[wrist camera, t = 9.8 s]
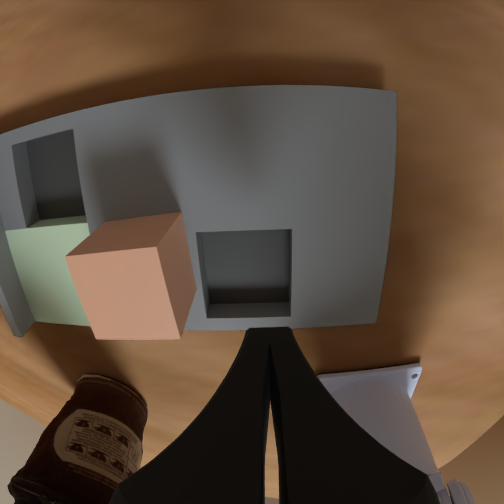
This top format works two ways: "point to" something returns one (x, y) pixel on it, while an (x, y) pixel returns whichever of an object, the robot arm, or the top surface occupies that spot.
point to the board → (211, 200)
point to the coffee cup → (85, 447)
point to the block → (135, 278)
